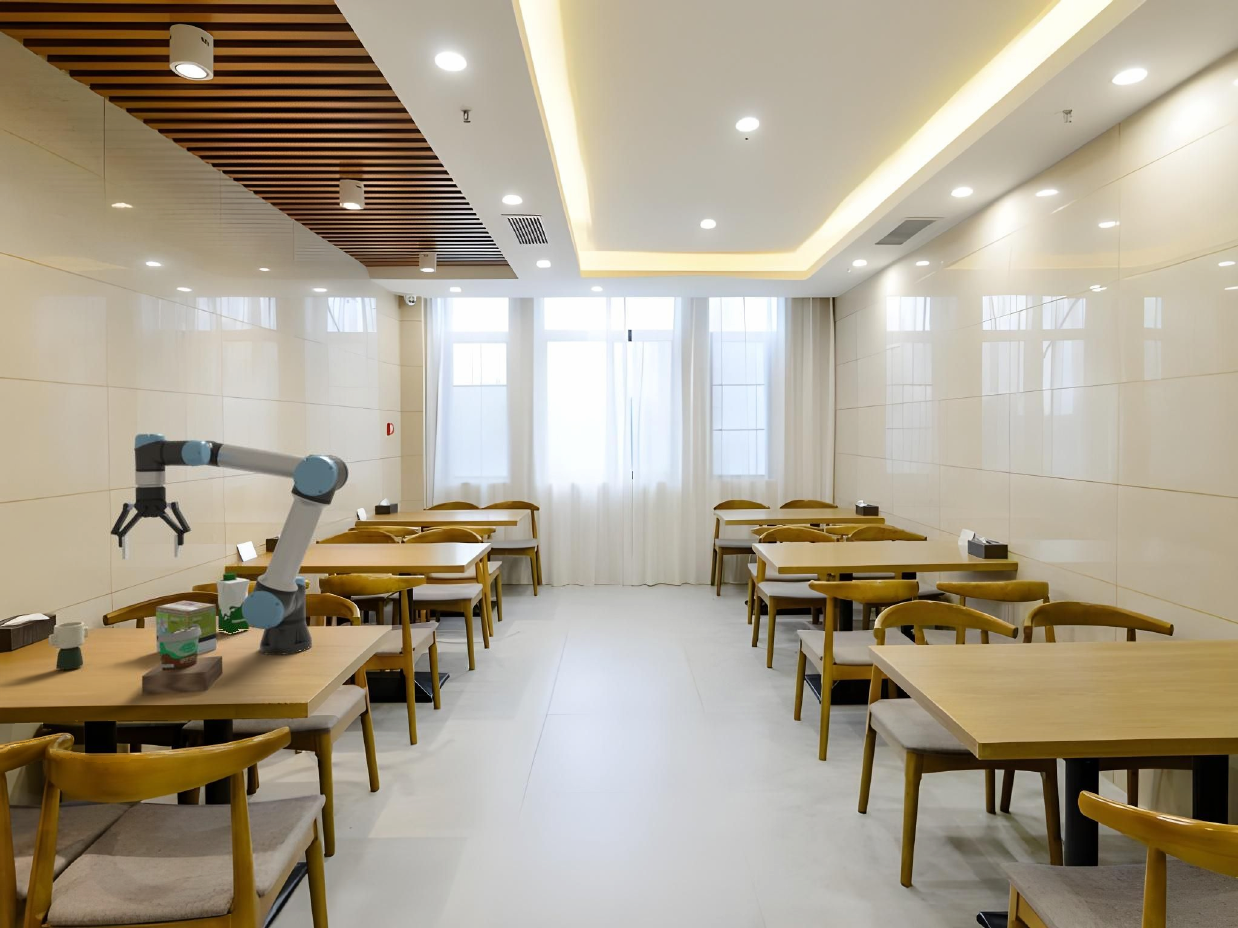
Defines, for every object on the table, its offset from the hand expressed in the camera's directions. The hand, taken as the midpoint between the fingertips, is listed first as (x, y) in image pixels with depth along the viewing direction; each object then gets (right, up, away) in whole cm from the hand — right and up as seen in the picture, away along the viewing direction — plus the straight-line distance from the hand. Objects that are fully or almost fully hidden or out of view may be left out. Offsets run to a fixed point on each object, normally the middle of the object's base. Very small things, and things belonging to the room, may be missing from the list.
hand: (151, 557), depth 215 cm
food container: (+21, -27, -18) cm, 39 cm away
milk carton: (+4, -31, +39) cm, 50 cm away
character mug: (-22, -32, -4) cm, 39 cm away
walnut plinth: (+20, -32, -18) cm, 42 cm away
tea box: (+2, -32, +15) cm, 35 cm away
